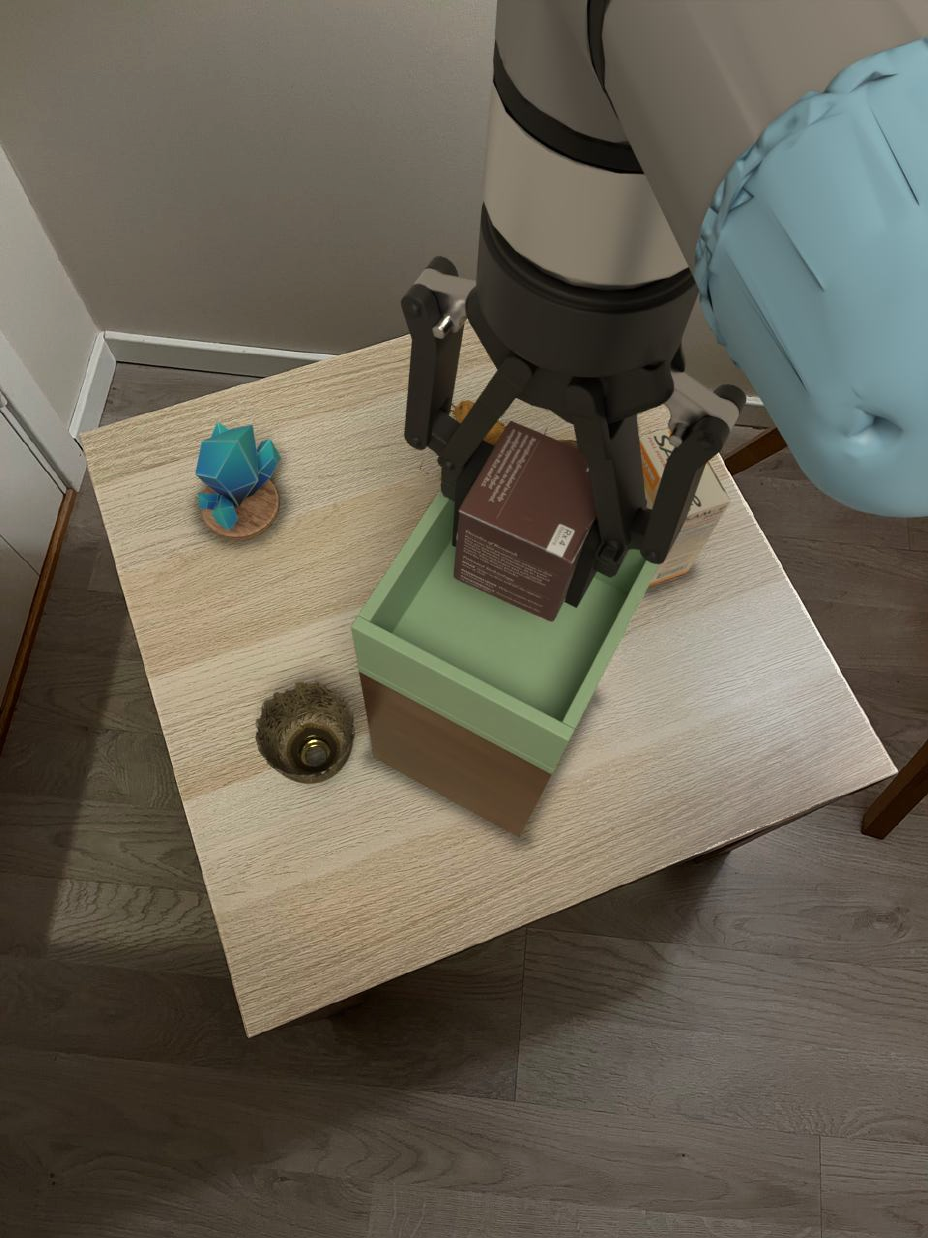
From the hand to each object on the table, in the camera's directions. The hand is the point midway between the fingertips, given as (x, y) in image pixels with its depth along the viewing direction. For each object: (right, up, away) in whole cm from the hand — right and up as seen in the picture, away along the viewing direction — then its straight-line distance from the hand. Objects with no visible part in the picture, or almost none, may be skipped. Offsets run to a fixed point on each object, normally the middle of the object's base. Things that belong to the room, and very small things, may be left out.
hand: (525, 556), depth 49 cm
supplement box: (+14, +3, +35) cm, 38 cm away
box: (0, 0, 0) cm, 1 cm away
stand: (-2, -13, +27) cm, 30 cm away
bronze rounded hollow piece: (-16, -15, +26) cm, 34 cm away
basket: (-1, -4, +9) cm, 10 cm away
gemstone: (-24, +7, +35) cm, 43 cm away
